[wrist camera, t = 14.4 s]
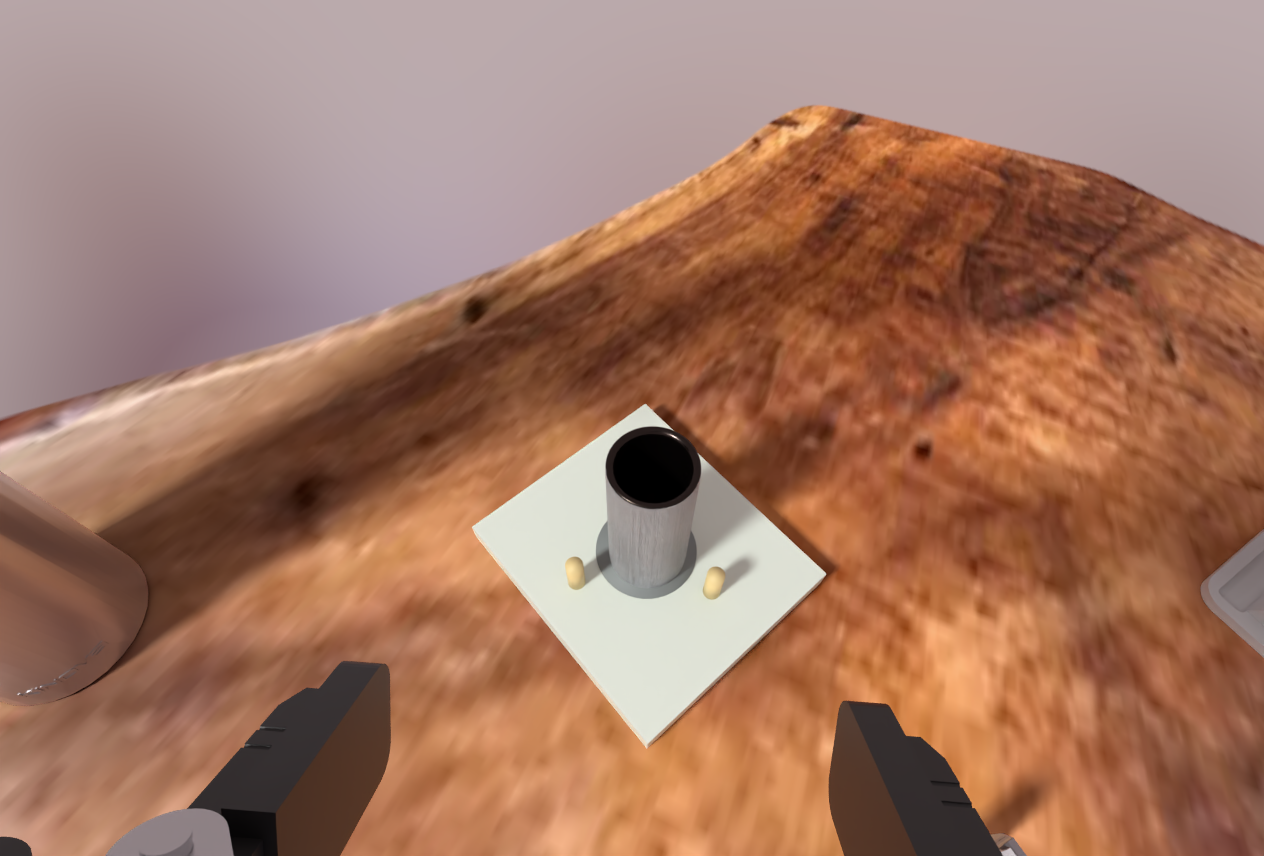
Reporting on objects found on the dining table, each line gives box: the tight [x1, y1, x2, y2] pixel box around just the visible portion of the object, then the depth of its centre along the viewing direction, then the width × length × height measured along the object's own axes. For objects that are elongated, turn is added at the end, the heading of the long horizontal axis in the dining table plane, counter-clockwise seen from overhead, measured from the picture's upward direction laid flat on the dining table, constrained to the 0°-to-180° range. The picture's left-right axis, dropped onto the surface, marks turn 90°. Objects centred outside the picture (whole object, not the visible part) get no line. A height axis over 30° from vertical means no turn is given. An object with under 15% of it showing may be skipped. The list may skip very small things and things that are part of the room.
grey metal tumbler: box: [605, 426, 701, 588], centre depth 37 cm, size 4×4×10 cm
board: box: [472, 404, 826, 748], centre depth 41 cm, size 16×14×4 cm
